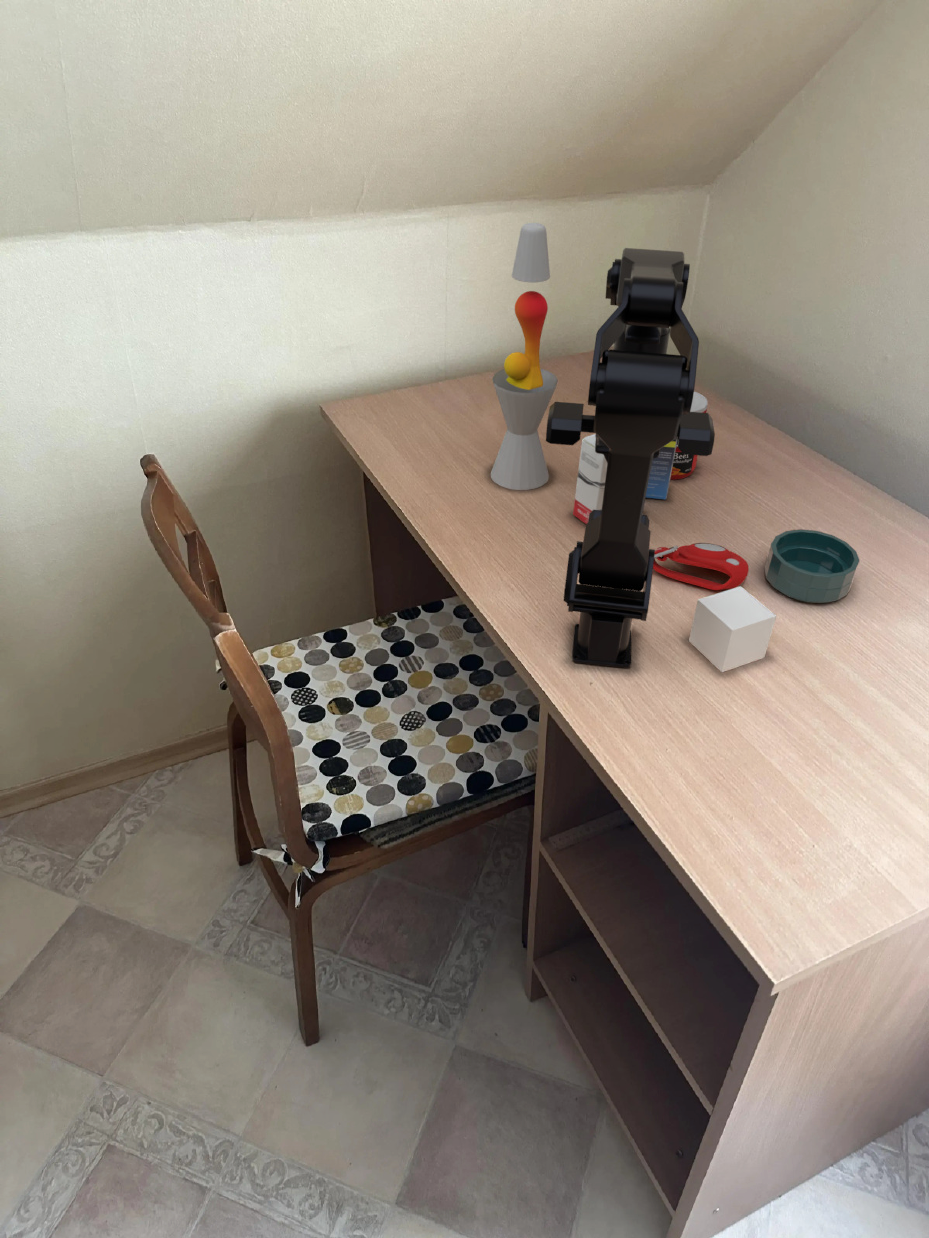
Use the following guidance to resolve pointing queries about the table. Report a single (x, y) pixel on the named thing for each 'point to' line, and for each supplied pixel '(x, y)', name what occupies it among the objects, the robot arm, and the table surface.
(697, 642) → the white cube
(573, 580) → the robot arm
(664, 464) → the label tape box
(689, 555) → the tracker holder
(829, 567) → the bowl
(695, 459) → the canned food
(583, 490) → the ink box
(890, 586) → the table surface
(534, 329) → the lava lamp
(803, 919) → the table surface
